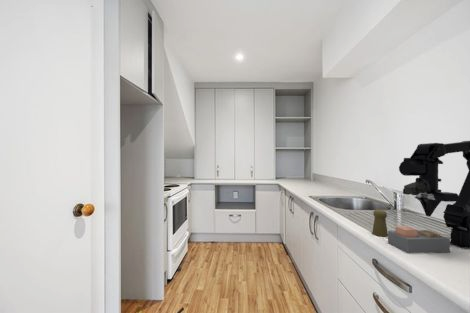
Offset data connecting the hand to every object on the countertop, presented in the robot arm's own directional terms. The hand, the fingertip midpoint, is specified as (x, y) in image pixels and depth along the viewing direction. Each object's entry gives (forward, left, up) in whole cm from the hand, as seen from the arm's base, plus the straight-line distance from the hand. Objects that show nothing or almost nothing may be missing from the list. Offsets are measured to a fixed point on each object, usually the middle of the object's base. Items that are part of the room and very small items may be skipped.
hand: (428, 216), depth 90 cm
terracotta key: (+9, 0, -10) cm, 14 cm away
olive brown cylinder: (+9, -15, -12) cm, 21 cm away
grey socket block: (+5, 0, -12) cm, 13 cm away
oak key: (0, 0, -12) cm, 12 cm away
